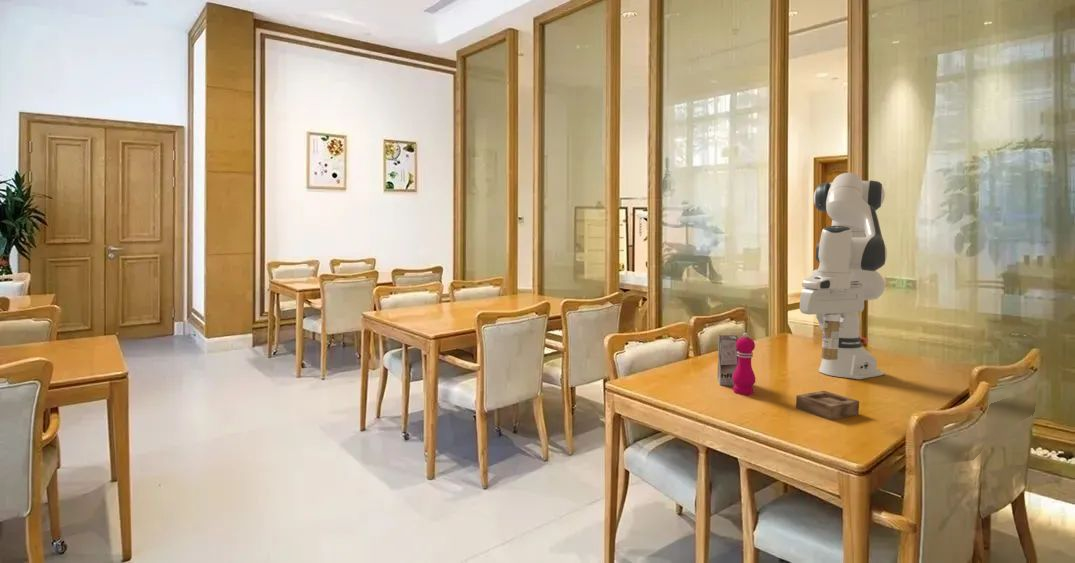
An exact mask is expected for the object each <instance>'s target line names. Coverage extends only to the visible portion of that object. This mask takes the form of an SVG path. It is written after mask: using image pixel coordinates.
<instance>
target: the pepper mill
mask: <svg viewBox="0 0 1075 563" xmlns="http://www.w3.org/2000/svg"><path fill="white" fill-rule="evenodd" d="M738 338H739V337H738ZM755 347H756V344H755V341H754V340H753V339H752V338H750V337H749V333H748V332H743V334H742V337H740V338H739V339H738V340H737V341H736V348H737V350H738V351H737V356H738V365H737V367H736V369H735V371H734V374H733V378H732V380H733V382H734V383H735V385H734V386H733V393H735V394H737V395H738V394H739V395H741V396H742V395H744V396H746V395H747V396H748V395H753V394H754V387H753V386H754V385H755V383H756V375H755V372H754V370H753V367H752V358H753V357H754V356H753V355H754V353H753V351H754V350H755Z"/></svg>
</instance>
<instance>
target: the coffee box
mask: <svg viewBox="0 0 1075 563" xmlns="http://www.w3.org/2000/svg"><path fill="white" fill-rule="evenodd" d="M738 339H739V336H738V335H734V334H733V335H730V334H729V335H727V334H725V335H722V334H719V335H718V344H717V345H718V347H717V348H718V349H717V350H718V352H717V380H718V384H719V386H731V387H734V385H735V383H734V382H733V380H732V378H733V374H734V371H735V369H736V367H737V365H738V356H737V351H738V350H737V348H736V341H737V340H738Z"/></svg>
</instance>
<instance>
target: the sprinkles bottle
mask: <svg viewBox="0 0 1075 563" xmlns="http://www.w3.org/2000/svg"><path fill="white" fill-rule="evenodd" d="M824 320H825V323H828V326H827V327H828V328H827V329H822V342H821V356H820V357H821V359H822V358H823V359H826V360H837V359H838V357H837V356H838V343H839V322H840V315H839V314H835V313H833V314H825V318H824Z"/></svg>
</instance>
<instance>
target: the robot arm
mask: <svg viewBox="0 0 1075 563" xmlns="http://www.w3.org/2000/svg"><path fill="white" fill-rule="evenodd" d="M885 196H886V192H885V189H884V187H883V184H882V183H881V182H880V181H878V180H862V178H861V177H860V176H859V175H858V174H856V173H853V172H843V173H840V174H838V175H837V176H836V177H835V178H834V179H833V181H831V182H830V181H826V182H823V183H820V184H817V186H816V188H815V190H814V193H813V204H814V206H815V208H816V209H817V210H818V211H819V212H823V213H827V215H828V217H829V218H830V219H831V225H829V226H825V227H823V229H822V231H821V234H820V238H819V242H818V243H816V245H815V261H816V262H817V263H818V265H819V266H818V268H817V269H814V270H813V271H811V272H810V273H809V276H808V278H806V279H804V280H802V282H801V286H802V287H803V288H802V290H801V293H800V295H799V297H800V298H799V310H800V313H802V314H804V315H808V316H809V315H815V317H816V319H817V321H818V324H819V325H818V328H819V329H821V330H823V329H827V328H828V327H827V326H828V323H825V320H824V318H825V314H833V313H835V314H839V315H840V322H839V343H838V356H837V357H838V359H837V360H826V359H823V358H821V362H820V364H819V365H820V366H819V369H818V372H820V373H822V374H824V375H826V376H831V377H832V376H833V377H839V378H848V379H854V380H855V379H856V380H863V379H868V378H875V377H879V376H883V375H885V374H884V373H885V372H884V371H883V370H880V369H878V368H877V366H878V365H877V358H876V356H874V355H873V354H871V353H870V352H869V351H868V350H867V349H865V348H864V347H863V344H868V343H869V338H866V337H860V326H861V324H860V322H861V319H860V315H859V314H858V313H863V311H864V309H865V301H871V300H877V299H879V298H880V297H881V296H882V295H883V294H884V291H885V288H886V284H885V283H886V282H885V279H884V277H883V276H882V274H880V272H878V271H877V270H879V269H881V268H882V267H884V266H885V263H886V262H887V257H888V250H887V246H886V244H885V241H884V238H883V235H882V232H881V231H882V230H881V226H880V223H879V218H878V215H877V211H878V209H880V208H881V207H882V205H883V203H884V200H885Z"/></svg>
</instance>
